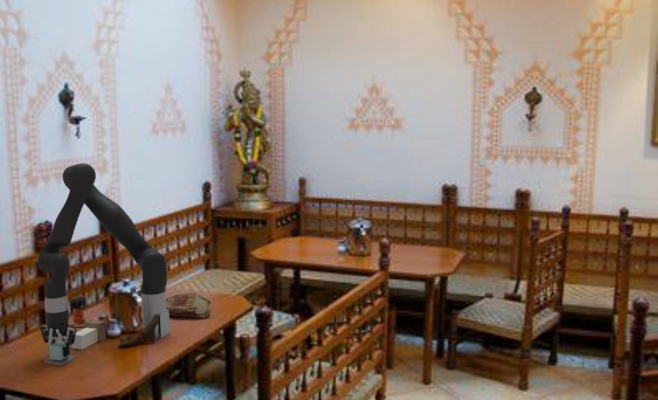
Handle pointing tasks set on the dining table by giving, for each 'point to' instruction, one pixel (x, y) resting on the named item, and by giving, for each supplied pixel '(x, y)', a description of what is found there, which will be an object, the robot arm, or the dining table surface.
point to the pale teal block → (56, 351)
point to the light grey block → (90, 334)
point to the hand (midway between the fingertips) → (60, 355)
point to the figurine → (78, 310)
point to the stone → (188, 305)
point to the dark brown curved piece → (140, 335)
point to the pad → (60, 362)
